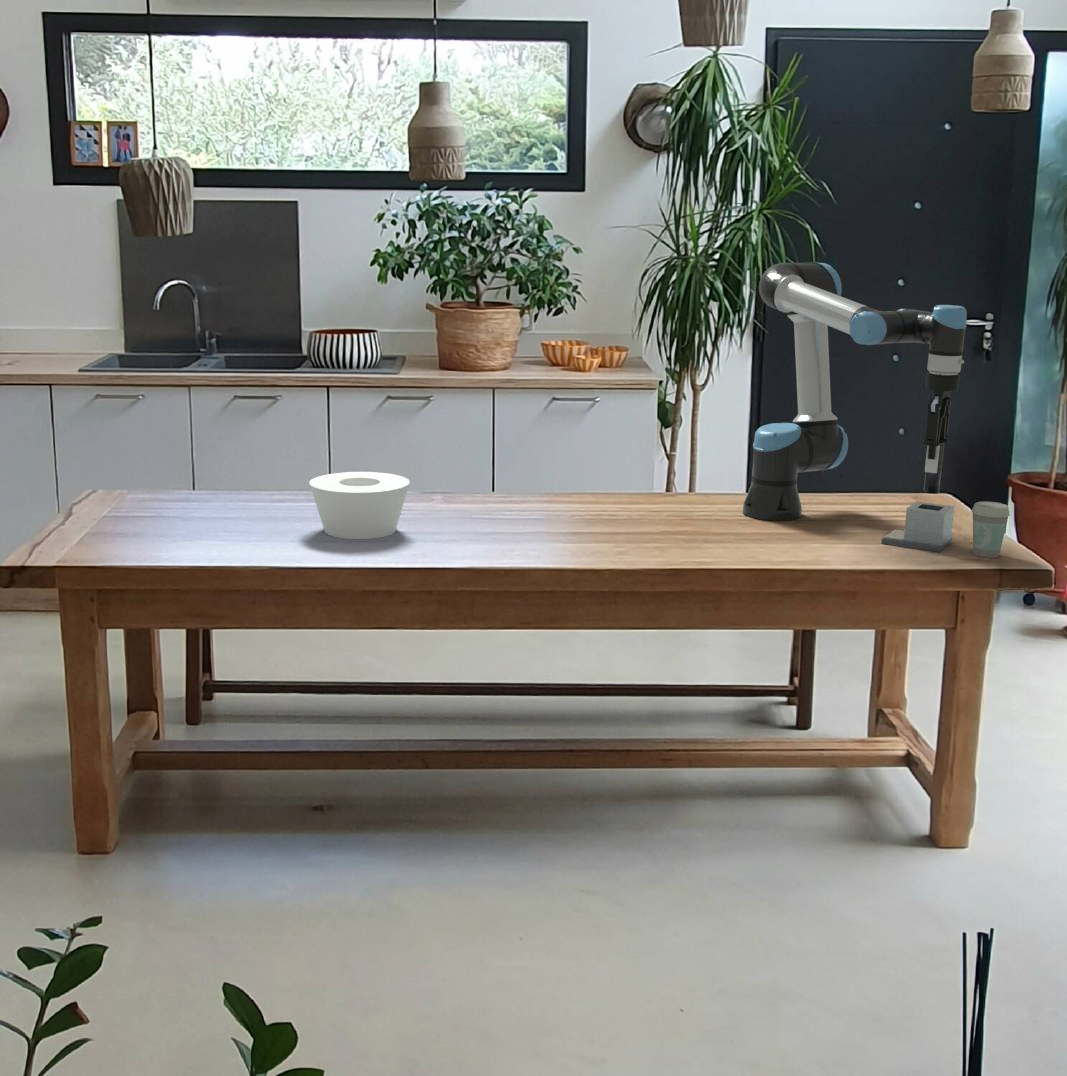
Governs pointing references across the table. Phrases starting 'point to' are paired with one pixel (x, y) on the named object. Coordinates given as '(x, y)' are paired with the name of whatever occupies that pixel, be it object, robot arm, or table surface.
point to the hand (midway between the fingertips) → (933, 470)
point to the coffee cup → (989, 528)
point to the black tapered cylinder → (934, 475)
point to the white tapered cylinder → (359, 503)
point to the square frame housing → (924, 528)
